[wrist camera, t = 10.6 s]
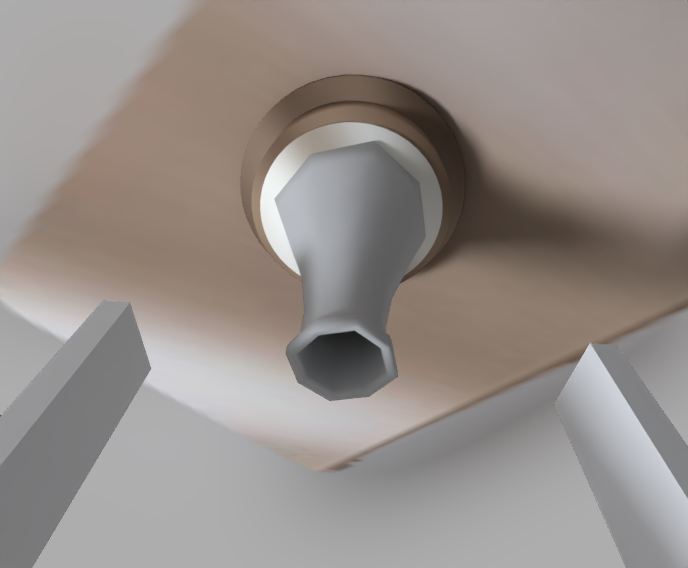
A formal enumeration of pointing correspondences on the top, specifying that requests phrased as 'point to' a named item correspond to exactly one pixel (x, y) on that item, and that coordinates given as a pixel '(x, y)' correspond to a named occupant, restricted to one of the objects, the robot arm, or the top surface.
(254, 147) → the pedestal
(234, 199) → the top surface
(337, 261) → the flask
